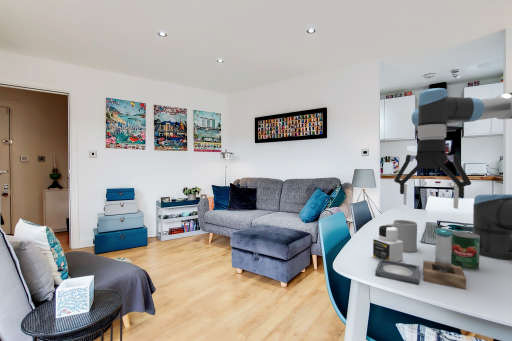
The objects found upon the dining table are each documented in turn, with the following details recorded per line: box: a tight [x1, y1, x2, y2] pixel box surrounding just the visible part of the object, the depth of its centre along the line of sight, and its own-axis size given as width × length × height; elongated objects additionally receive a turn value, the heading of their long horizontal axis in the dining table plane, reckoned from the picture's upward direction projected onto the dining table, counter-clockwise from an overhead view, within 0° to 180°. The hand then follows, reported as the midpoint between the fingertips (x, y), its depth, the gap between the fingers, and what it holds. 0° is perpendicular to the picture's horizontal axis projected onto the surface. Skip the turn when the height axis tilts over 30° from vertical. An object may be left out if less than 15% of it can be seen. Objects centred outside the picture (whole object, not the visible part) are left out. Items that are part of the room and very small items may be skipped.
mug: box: [386, 219, 418, 253], centre depth 109 cm, size 12×8×11 cm
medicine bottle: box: [372, 224, 404, 262], centre depth 97 cm, size 7×7×12 cm
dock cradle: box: [374, 259, 420, 286], centre depth 84 cm, size 12×12×2 cm
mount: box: [422, 260, 467, 290], centre depth 81 cm, size 10×10×3 cm
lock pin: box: [434, 227, 454, 273], centre depth 80 cm, size 5×5×15 cm
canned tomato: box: [451, 230, 480, 271], centre depth 90 cm, size 8×8×11 cm
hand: (429, 206), depth 84 cm, fingers open, 13 cm apart
